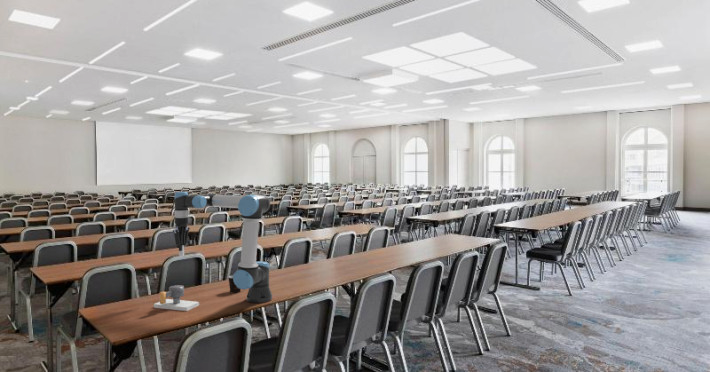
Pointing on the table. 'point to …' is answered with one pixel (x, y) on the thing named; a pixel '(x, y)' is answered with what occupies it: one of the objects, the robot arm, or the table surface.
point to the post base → (177, 304)
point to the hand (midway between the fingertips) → (181, 255)
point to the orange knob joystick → (172, 293)
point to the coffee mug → (233, 285)
